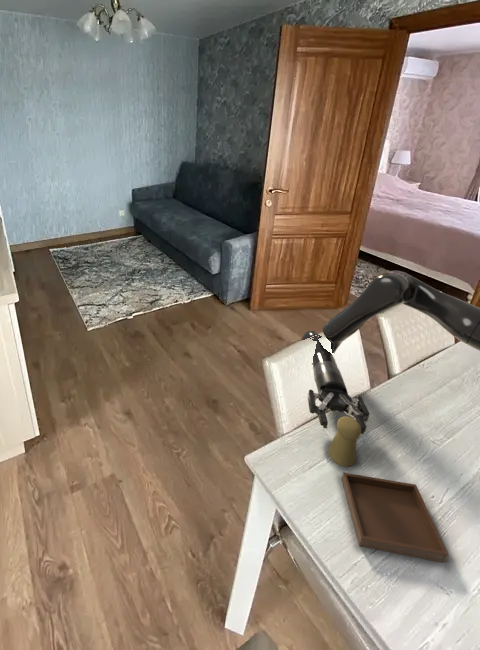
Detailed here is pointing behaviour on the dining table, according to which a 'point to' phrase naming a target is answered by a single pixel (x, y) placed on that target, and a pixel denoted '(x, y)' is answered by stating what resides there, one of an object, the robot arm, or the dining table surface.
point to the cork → (345, 442)
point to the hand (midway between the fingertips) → (344, 428)
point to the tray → (392, 517)
